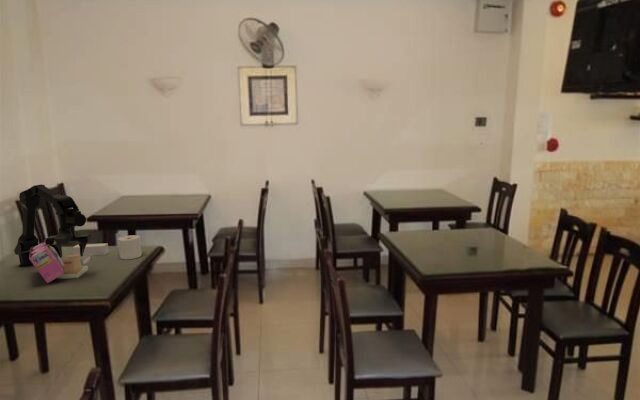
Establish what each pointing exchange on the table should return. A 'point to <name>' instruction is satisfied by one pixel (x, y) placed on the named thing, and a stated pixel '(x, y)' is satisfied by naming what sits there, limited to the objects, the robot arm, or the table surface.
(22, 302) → the table surface
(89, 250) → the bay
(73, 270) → the tan cuboid block
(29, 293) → the table surface
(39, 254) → the gum box
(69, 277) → the tray
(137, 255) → the toilet tissue
